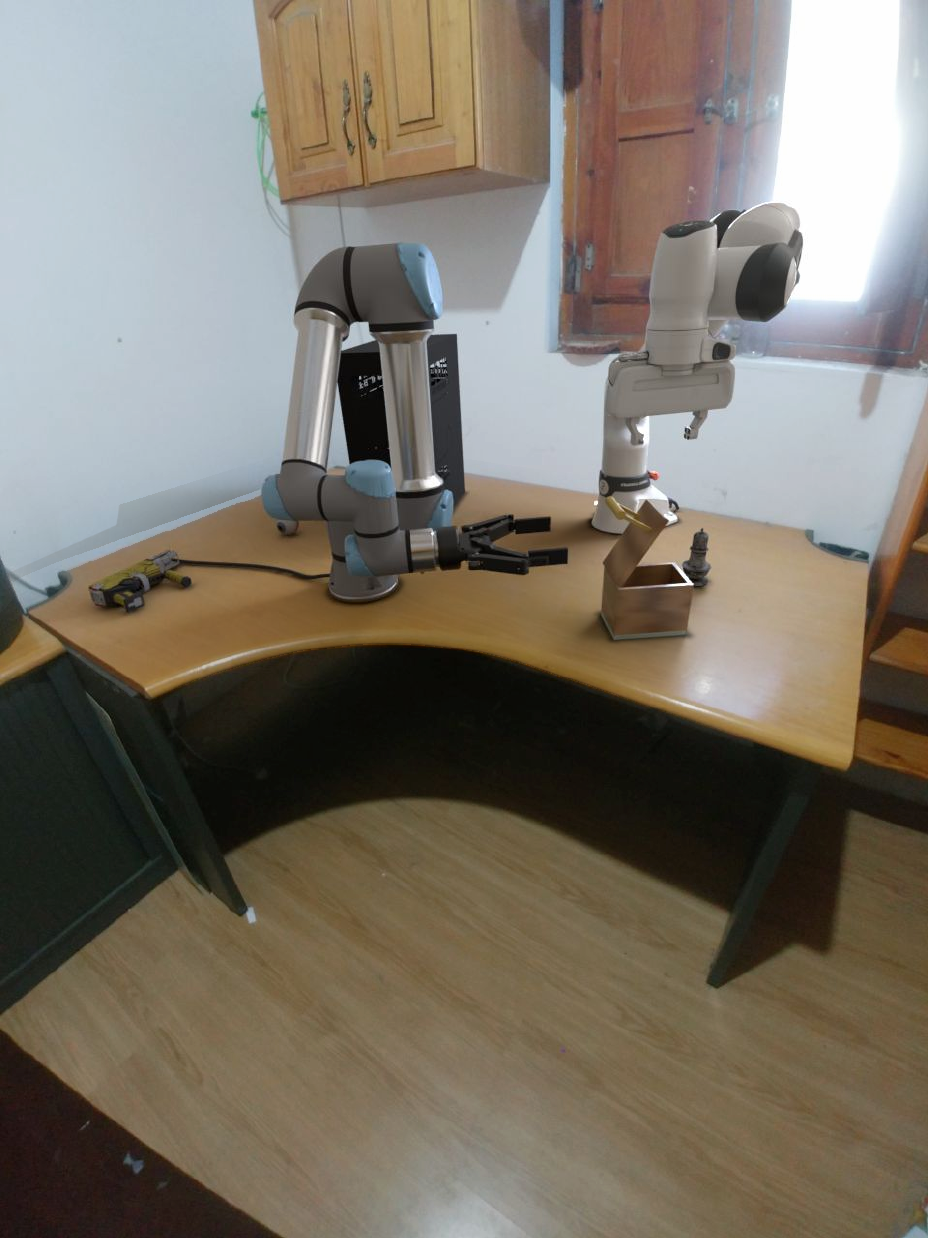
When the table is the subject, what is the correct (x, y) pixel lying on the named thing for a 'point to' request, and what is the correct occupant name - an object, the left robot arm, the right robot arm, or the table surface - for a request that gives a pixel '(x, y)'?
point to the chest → (648, 602)
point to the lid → (632, 538)
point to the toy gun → (136, 582)
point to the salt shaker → (697, 560)
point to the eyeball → (287, 526)
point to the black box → (369, 413)
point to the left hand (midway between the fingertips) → (558, 538)
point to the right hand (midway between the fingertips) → (663, 441)
